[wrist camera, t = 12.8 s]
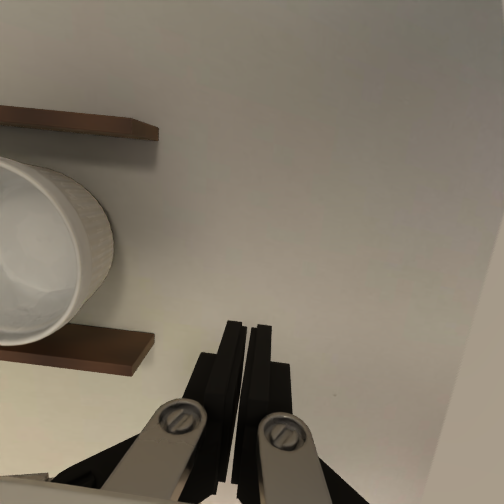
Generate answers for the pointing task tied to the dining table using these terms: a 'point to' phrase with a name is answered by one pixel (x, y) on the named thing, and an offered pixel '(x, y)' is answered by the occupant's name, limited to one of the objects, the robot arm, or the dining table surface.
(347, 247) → the dining table surface
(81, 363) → the frame
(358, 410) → the dining table surface
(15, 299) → the ramekin
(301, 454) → the robot arm
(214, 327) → the dining table surface
